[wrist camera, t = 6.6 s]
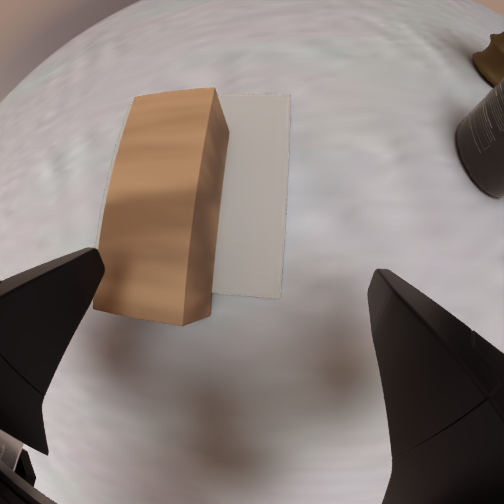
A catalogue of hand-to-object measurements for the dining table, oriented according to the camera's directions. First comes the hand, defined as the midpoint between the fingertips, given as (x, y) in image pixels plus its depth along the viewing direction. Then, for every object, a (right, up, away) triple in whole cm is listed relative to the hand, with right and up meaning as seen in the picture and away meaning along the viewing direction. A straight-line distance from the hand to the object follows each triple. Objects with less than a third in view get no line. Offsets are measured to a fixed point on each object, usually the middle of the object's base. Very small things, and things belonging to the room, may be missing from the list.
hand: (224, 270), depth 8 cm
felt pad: (-3, +5, +8) cm, 10 cm away
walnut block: (-4, -3, +5) cm, 7 cm away
